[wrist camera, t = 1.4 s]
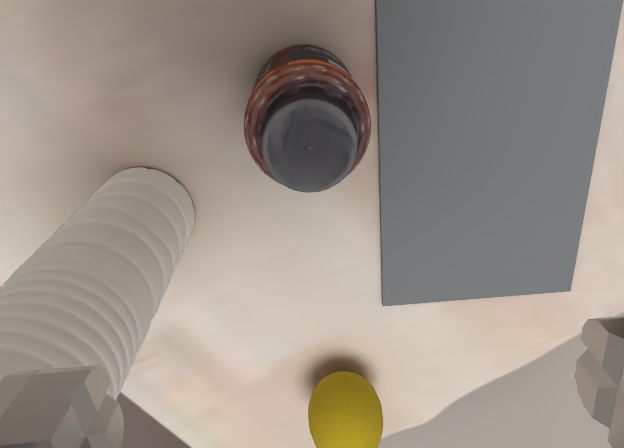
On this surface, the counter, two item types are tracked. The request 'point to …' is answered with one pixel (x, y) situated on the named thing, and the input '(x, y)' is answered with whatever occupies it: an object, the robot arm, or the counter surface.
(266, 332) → the counter surface
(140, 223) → the water bottle
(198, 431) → the counter surface
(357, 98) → the supplement bottle
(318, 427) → the lemon
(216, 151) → the counter surface
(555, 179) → the mat
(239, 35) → the counter surface
